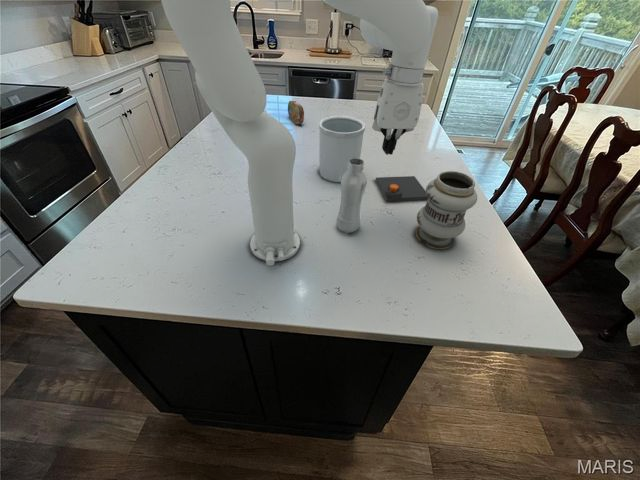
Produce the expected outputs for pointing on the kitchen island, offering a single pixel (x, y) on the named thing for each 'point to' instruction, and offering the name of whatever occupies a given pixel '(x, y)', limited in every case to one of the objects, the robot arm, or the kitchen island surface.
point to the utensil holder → (339, 145)
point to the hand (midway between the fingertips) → (387, 152)
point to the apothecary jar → (445, 209)
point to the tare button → (393, 188)
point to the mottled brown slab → (295, 112)
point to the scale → (401, 189)
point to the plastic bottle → (351, 196)
